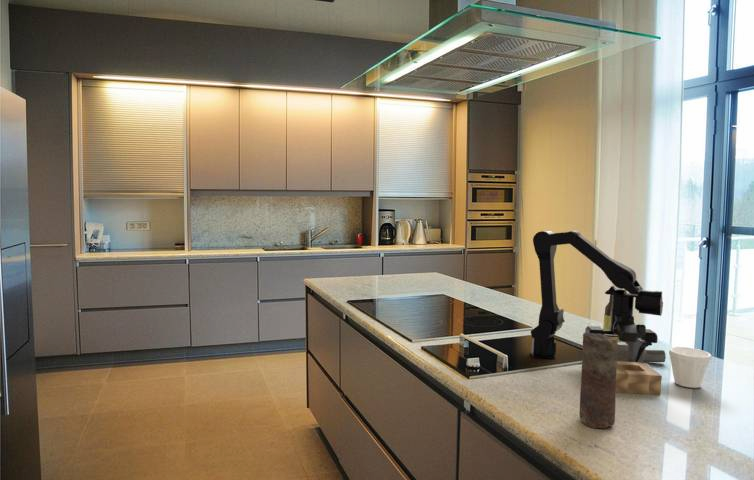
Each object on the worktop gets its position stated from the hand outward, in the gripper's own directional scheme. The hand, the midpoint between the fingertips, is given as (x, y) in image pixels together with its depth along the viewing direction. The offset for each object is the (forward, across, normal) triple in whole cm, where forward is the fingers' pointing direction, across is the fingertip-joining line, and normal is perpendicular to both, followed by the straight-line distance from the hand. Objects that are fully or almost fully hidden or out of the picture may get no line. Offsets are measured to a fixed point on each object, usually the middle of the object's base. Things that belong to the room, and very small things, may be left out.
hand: (618, 363), depth 159 cm
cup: (+2, +15, -10) cm, 18 cm away
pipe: (+2, +10, +10) cm, 14 cm away
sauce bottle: (+2, +6, +27) cm, 28 cm away
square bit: (+2, 0, 0) cm, 2 cm away
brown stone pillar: (+2, -17, -41) cm, 44 cm away
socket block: (+2, -1, -14) cm, 14 cm away
